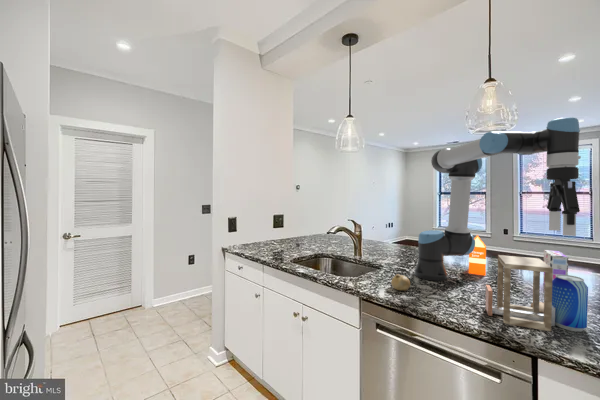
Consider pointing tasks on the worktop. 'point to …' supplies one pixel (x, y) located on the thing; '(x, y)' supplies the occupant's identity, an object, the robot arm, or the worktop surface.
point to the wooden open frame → (536, 267)
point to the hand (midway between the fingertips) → (561, 232)
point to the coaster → (540, 307)
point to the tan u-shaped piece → (513, 312)
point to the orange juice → (478, 258)
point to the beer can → (570, 302)
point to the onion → (400, 282)
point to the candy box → (556, 262)
